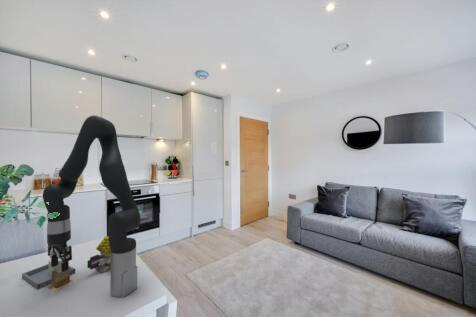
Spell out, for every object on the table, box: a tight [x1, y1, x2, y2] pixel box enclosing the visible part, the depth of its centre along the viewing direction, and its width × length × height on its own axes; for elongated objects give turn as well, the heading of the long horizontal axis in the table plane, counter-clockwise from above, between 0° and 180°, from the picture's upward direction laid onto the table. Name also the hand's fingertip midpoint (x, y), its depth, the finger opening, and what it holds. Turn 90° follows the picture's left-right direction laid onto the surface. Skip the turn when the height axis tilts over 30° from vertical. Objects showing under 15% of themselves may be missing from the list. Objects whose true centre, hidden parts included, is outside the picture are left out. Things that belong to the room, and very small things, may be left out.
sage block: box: [48, 258, 61, 275], centre depth 93 cm, size 4×4×6 cm
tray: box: [21, 263, 76, 290], centre depth 91 cm, size 16×13×2 cm
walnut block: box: [52, 268, 71, 289], centre depth 85 cm, size 4×4×6 cm
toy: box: [86, 235, 111, 274], centre depth 96 cm, size 10×13×15 cm
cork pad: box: [45, 279, 75, 293], centre depth 85 cm, size 7×7×1 cm
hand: (59, 268), depth 84 cm, fingers open, 8 cm apart
